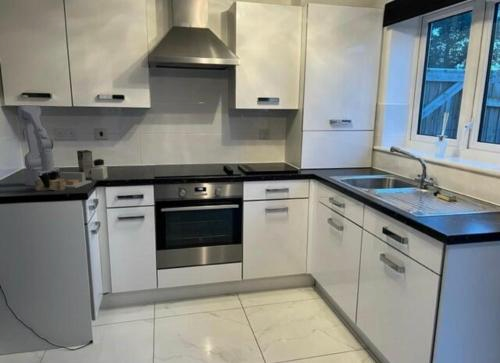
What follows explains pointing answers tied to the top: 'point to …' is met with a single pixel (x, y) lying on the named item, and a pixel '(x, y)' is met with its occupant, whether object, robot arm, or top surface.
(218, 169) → the top surface
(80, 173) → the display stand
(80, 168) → the coffee box
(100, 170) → the medicine bottle
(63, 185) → the ash bar
